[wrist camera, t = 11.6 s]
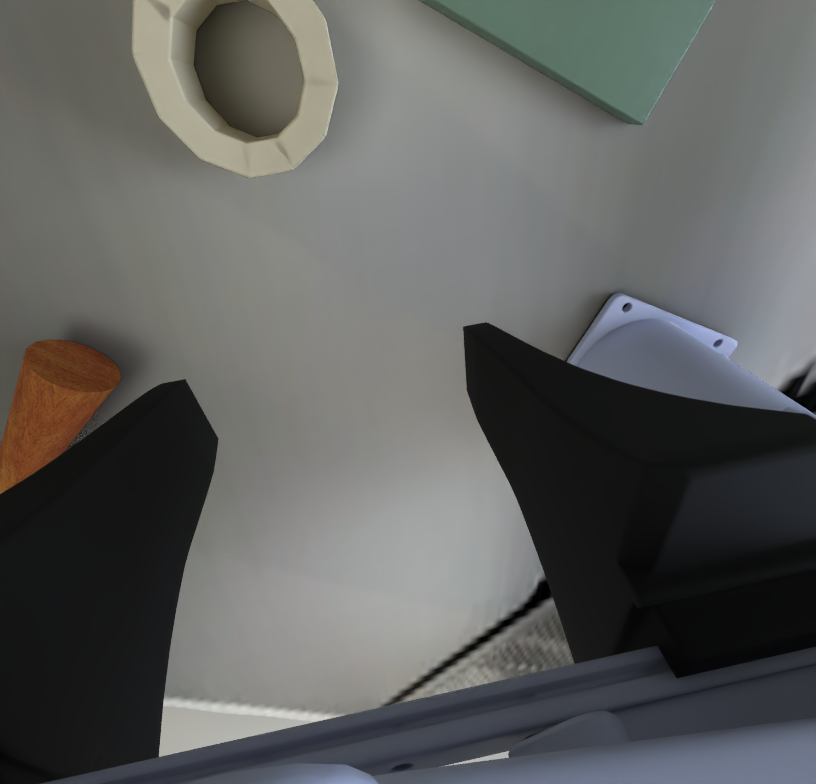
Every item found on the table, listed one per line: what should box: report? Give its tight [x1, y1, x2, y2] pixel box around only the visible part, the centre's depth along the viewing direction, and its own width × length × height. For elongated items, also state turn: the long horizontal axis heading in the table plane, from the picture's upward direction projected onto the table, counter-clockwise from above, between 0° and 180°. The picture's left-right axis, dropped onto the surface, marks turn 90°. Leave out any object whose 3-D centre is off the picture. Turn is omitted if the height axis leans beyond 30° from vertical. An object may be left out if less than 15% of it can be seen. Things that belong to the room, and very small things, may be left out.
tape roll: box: [132, 0, 338, 178], centre depth 13 cm, size 6×6×2 cm
